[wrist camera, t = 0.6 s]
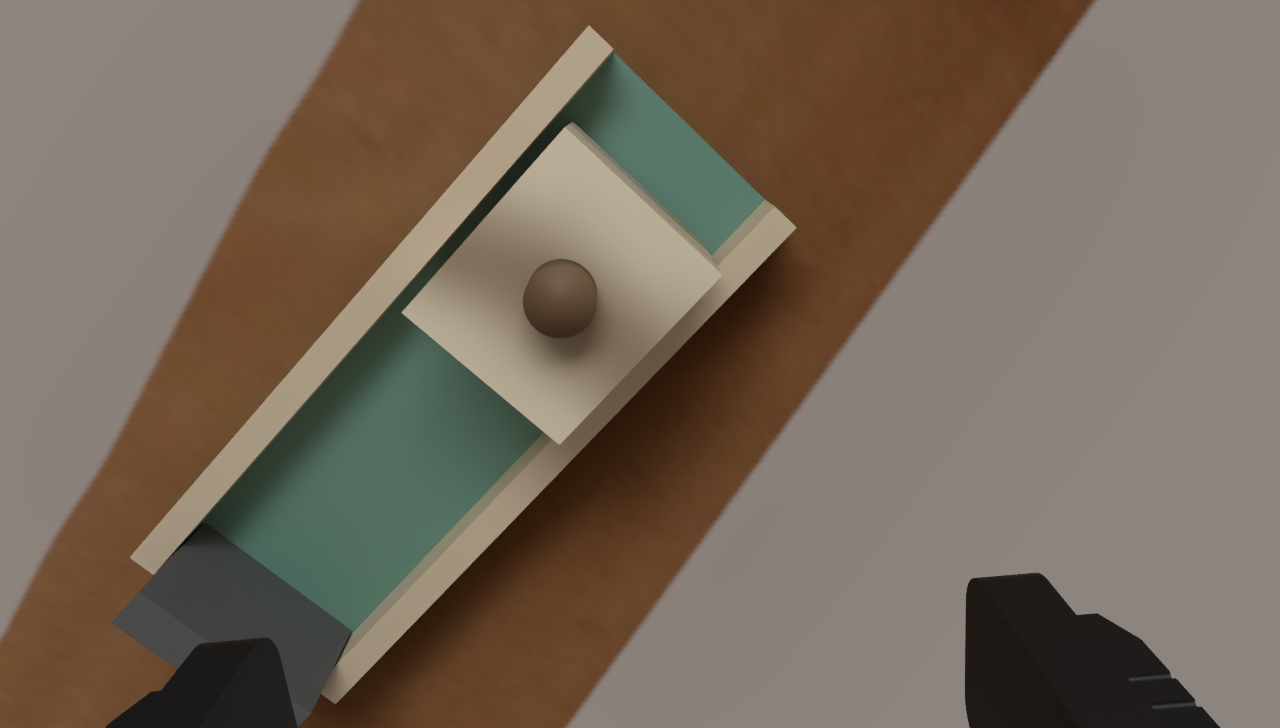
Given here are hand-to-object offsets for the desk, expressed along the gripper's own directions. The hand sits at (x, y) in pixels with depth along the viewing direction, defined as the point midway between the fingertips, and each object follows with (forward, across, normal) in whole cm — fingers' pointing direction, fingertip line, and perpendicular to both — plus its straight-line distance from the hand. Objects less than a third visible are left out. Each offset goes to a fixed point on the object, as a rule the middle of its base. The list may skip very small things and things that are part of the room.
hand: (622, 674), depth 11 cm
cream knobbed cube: (+22, +2, -1) cm, 22 cm away
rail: (+23, +6, +3) cm, 24 cm away
